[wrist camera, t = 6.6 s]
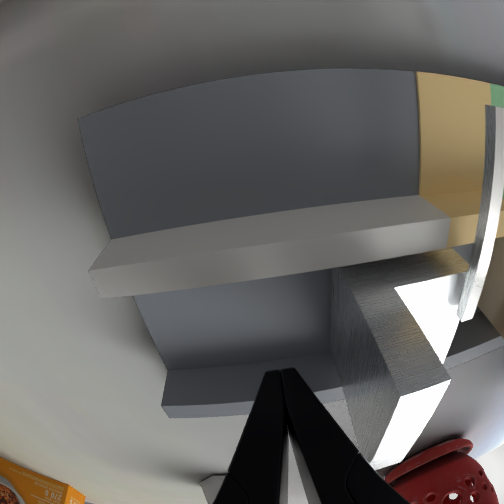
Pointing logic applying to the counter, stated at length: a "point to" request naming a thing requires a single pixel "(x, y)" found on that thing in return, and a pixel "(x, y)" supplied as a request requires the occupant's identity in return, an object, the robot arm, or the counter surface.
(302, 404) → the robot arm
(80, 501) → the cereal box
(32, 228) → the counter surface
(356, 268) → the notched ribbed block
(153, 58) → the counter surface
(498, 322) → the block
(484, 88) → the bench
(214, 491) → the flask
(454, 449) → the plant pot
